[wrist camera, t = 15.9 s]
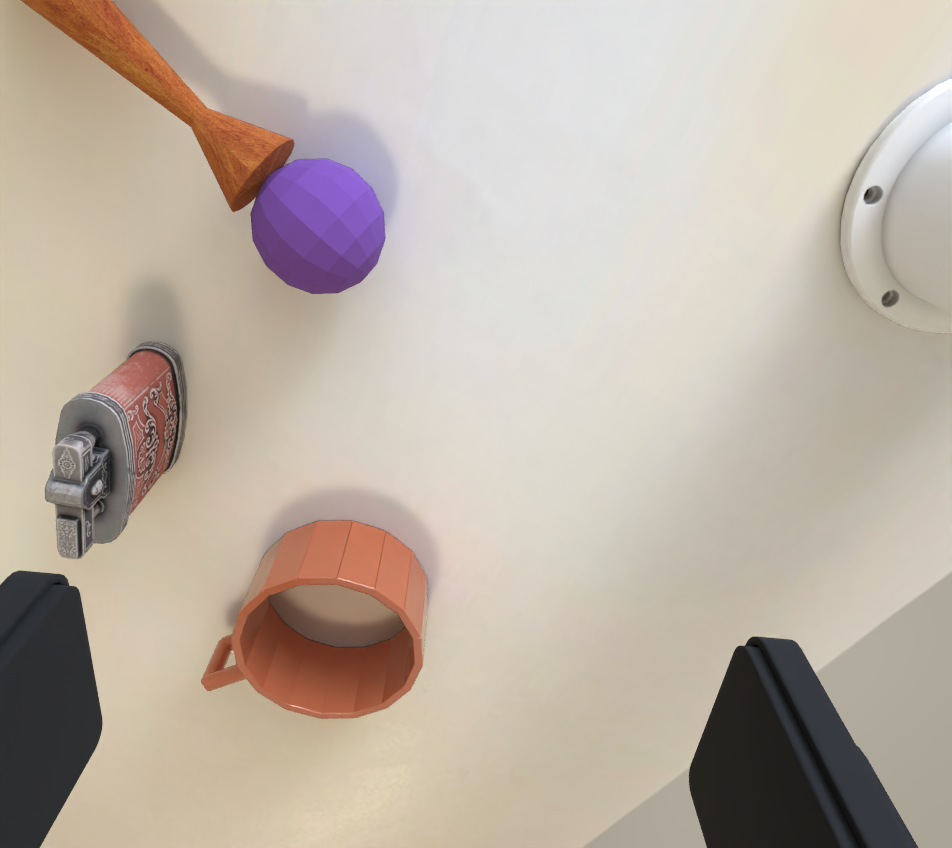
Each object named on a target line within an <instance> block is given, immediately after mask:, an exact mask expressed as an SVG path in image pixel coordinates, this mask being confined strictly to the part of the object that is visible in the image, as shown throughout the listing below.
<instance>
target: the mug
mask: <svg viewBox="0 0 952 848" xmlns="http://www.w3.org/2000/svg"><path fill="white" fill-rule="evenodd" d="M334 584H336V585H340V586H343V587H346V588H350V589H353V590H356V591H359V592H363V593H366V594H369V595H371V596H373V597H374V598H376V599H377V600H378V601H380V602H381V603H383V604H384V605H386V606H387V607H388V608H390V609H391V610H393V611H394V612H395V613H397V614H398V616H399V617H400V619H401V620H402V622H403V624H404V625H405V628H404V629H403V630H402V631H400V632H399V633H398V634H397V635H396V636H394V637H393V638H392V639H389V640H386V641H383V642H380V643H377V644H374V645H371V646H368V647H364V648H335V647H332V646H328V645H325V644H321V643H318V642H314V641H311V640H308V639H306V638H305V637H303V636H302V635H300V634H299V633H297V632H296V631H294V630H293V629H291V628H290V627H288V626H287V625H285V624H284V622H283V621H282V620H281V618H280V617H279V616H278V614H277V613H276V611H275V610H274V609H273V607H272V606H271V605H270V603H269V598H268V596H270V595H273V594H276V593H278V592H281V591H284V590H287V589H289V588H292V587H295V586H298V585H334ZM427 612H428V585H427V577H426V574H425V572H424V570H423V569H422V567H421V565H420V564H419V562H418V560H417V558H416V557H415V555H414V553H413V552H412V551H411V550H410V549H409V548H408V547H406V546H405V545H404V544H402V543H401V542H400V541H398V540H397V539H396V538H394V537H393V536H392V535H390V534H389V533H388V532H386V531H384V530H381V529H378V528H375V527H371V526H368V525H365V524H362V523H359V522H356V521H352V520H341V521H316V522H313V523H310V524H308V525H305V526H302V527H300V528H297V529H294V530H292V531H289V532H287V533H285V534H284V535H283V536H282V537H281V538H280V539H279V540H278V541H277V542H276V543H275V544H274V545H273V546H272V547H271V548H270V549H269V550H268V551H267V552H266V553H265V555H264V557H263V559H262V562H261V564H260V566H259V568H258V571H257V573H256V575H255V578H254V580H253V582H252V584H251V587H250V589H249V591H248V593H247V596H246V598H245V600H244V603H243V605H242V607H241V609H240V612H239V614H238V618H237V621H236V624H235V627H234V630H233V633H232V634H231V635H228V636H225V637H223V638H222V639H221V640H220V641H219V642H218V644H217V646H216V648H215V651H214V653H213V655H212V657H211V659H210V662H209V664H208V666H207V668H206V671H205V673H204V675H203V677H202V679H201V683H202V685H203V686H204V688H205V689H206V690H207V691H212V690H215V689H218V688H221V687H224V686H227V685H230V684H233V683H236V682H239V681H241V680H244V679H247V680H248V681H249V683H250V684H251V685H252V686H253V688H254V689H255V690H256V691H257V692H258V693H260V694H261V695H263V696H265V697H266V698H268V699H270V700H271V701H273V702H274V703H276V704H278V705H279V706H281V707H283V708H284V709H287V710H290V711H294V712H297V713H301V714H305V715H308V716H312V717H316V718H321V719H328V718H357V717H361V716H364V715H367V714H370V713H373V712H377V711H380V710H383V709H386V708H388V707H389V706H390V705H392V704H393V703H394V702H396V701H397V700H398V699H399V698H401V697H402V696H403V695H405V694H406V693H407V692H408V691H410V689H411V688H412V686H413V684H414V682H415V680H416V678H417V676H418V674H419V672H420V670H421V668H422V666H423V658H424V647H425V635H426V624H427ZM232 650H233V651H234V655H235V660H236V665H233V666H231V667H228V668H225V669H224V667H225V665H226V663H227V660H228V658H229V656H230V653H231V651H232Z"/></svg>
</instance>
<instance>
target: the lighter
mask: <svg viewBox="0 0 952 848" xmlns="http://www.w3.org/2000/svg"><path fill="white" fill-rule="evenodd" d="M186 419H187V393H186V383H185V377H184V371H183V365H182V361H181V358H180V356H179V355H178V354H177V352H176V351H175V350H174V349H172V348H171V347H169V346H168V345H166V344H163V343H160V342H152V341H150V342H145V343H142V344H141V345H139V346H138V347H136V348H135V349H134V350H133V351H131V352H130V353H129V355H128V357H127V360H126V361H125V362H124V363H123V364H122V365H120V366H119V367H118V368H117V369H115V370H114V371H113V372H112V373H110V374H109V375H108V376H107V377H106V378H104V379H103V380H102V381H101V382H99V383H98V384H97V385H96V386H95V387H93V388H92V389H91V390H90V391H88V392H86V393H81V394H78V395H77V396H76V397H74V398H73V399H72V400H70V401H69V402H68V403H67V404H65V405H64V407H63V409H62V411H61V414H60V419H59V424H58V430H57V435H56V443H55V447H54V448H53V453H52V454H53V469H52V471H51V474H50V477H49V479H48V481H47V483H46V487H45V499H46V501H47V502H50V503H53V504H55V511H56V531H57V548H58V552H59V555H60V556H61V557H64V558H68V559H81V558H82V557H83V556H84V555H85V553H86V552H87V551H88V550H89V549H90V547H91V546H92V545H93V544H94V543H100V544H103V543H108V542H112V541H113V540H115V539H116V538H117V537H118V536H119V535H120V533H121V532H122V531H123V530H124V528H125V526H126V525H127V521H128V517H129V515H130V514H131V513H132V512H133V510H134V509H135V508H136V507H137V505H138V504H139V503H140V502H141V500H142V499H143V498H144V496H145V495H146V494H147V493H148V491H149V490H150V489H151V488H152V486H153V485H154V484H155V482H156V481H157V480H158V479H159V477H160V476H161V475H162V474H165V473H166V472H168V471H169V470H170V469H171V468H172V467H173V465H174V464H175V463H176V461H177V459H178V457H179V453H180V450H181V446H182V443H183V439H184V434H185V426H186Z"/></svg>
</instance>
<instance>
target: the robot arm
mask: <svg viewBox="0 0 952 848" xmlns="http://www.w3.org/2000/svg"><path fill="white" fill-rule="evenodd" d="M867 189H868V194H867V196H866V197H864V194H865V192H866V191H867ZM840 246H841V252H842V257H843V262H844V267H845V270H846V272H847V274H848V276H849V279H850V281H851V283H852V285H853V287H854V289H855V290H856V291H857V292H858V294H859V295H860V296H861V298H862V299H863V300H864V301H865V303H867V304H868V305H869V306H870V307H872V308H873V309H874V310H876V311H877V312H878V313H879V314H881V315H882V316H884V317H886V318H888V319H890V320H892V321H893V322H895V323H897V324H899V325H902V326H905V327H908V328H911V329H914V330H917V331H924V332H932V333H952V78H951V79H949V80H947V81H945V82H942V83H940V84H938V85H936V86H935V87H934V88H932V89H931V90H929V91H928V92H926V93H925V94H923V95H922V96H920V97H919V98H917V99H916V100H915V101H913V102H912V103H911V104H910V105H908V106H907V107H906V108H905V109H904V110H903V111H902V112H901V113H900V114H899V115H898V116H897V117H895V118H894V119H893V120H892V121H891V122H890V123H889V124H888V126H887V127H886V128H885V129H884V130H883V132H882V133H881V134H880V135H879V137H878V138H877V139H876V140H875V142H874V143H873V144H872V145H871V147H870V148H869V150H868V152H867V154H866V155H865V157H864V159H863V160H862V162H861V164H860V165H859V167H858V169H857V171H856V173H855V175H854V178H853V180H852V183H851V185H850V188H849V191H848V193H847V196H846V199H845V204H844V209H843V214H842V219H841V240H840ZM884 294H885V295H884ZM883 295H884V296H883ZM101 731H102V715H101V709H100V703H99V698H98V692H97V687H96V681H95V675H94V670H93V664H92V658H91V653H90V647H89V642H88V636H87V630H86V625H85V619H84V614H83V608H82V602H81V597H80V593H79V590H78V589H77V587H74V586H69V583H68V580H67V578H66V577H65V576H64V575H61V574H52V573H41V572H30V571H17V572H14V573H12V574H11V575H10V576H9V577H7V578H6V579H5V581H4V582H3V583H2V584H1V585H0V848H40V846H41V844H42V843H43V841H44V839H45V837H46V835H47V834H48V832H49V830H50V828H51V827H52V825H53V823H54V821H55V819H56V818H57V816H58V814H59V812H60V811H61V809H62V807H63V805H64V803H65V802H66V800H67V798H68V796H69V795H70V793H71V791H72V789H73V788H74V786H75V784H76V782H77V780H78V779H79V777H80V775H81V773H82V772H83V770H84V768H85V766H86V764H87V763H88V761H89V759H90V757H91V756H92V754H93V752H94V750H95V748H96V746H97V744H98V741H99V739H100V735H101ZM689 785H690V792H691V796H692V799H693V802H694V806H695V809H696V813H697V816H698V819H699V822H700V826H701V829H702V832H703V836H704V839H705V842H706V846H707V848H918V846H917V845H916V843H915V841H914V839H913V838H912V836H911V834H910V832H909V831H908V829H907V827H906V826H905V824H904V822H903V820H902V819H901V817H900V815H899V813H898V812H897V810H896V808H895V807H894V805H893V803H892V801H891V799H890V798H889V796H888V794H887V792H886V791H885V789H884V787H883V785H882V784H881V782H880V780H879V779H878V777H877V775H876V773H875V772H874V770H873V768H872V766H871V765H870V763H869V761H868V759H867V758H866V756H865V755H864V754H863V752H862V751H861V750H860V748H859V747H858V746H856V744H855V743H854V741H853V739H852V737H851V736H850V734H849V732H848V730H847V729H846V727H845V725H844V723H843V722H842V720H841V718H840V716H839V714H838V713H837V711H836V709H835V707H834V706H833V704H832V702H831V700H830V699H829V697H828V695H827V693H826V692H825V690H824V688H823V686H822V685H821V683H820V681H819V679H818V678H817V676H816V674H815V672H814V671H813V669H812V667H811V665H810V664H809V662H808V660H807V658H806V656H805V655H804V653H803V651H802V649H801V648H800V647H799V645H798V644H797V643H796V642H795V641H793V640H788V639H777V638H766V637H751V638H750V639H749V640H748V642H747V643H746V645H745V646H738V647H737V648H736V649H735V651H734V653H733V656H732V659H731V661H730V664H729V666H728V669H727V672H726V674H725V677H724V680H723V682H722V685H721V687H720V690H719V693H718V695H717V698H716V700H715V703H714V706H713V708H712V711H711V714H710V716H709V719H708V721H707V724H706V727H705V729H704V732H703V734H702V737H701V740H700V742H699V745H698V747H697V750H696V753H695V755H694V758H693V761H692V763H691V766H690V771H689Z"/></svg>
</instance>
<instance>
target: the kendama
mask: <svg viewBox="0 0 952 848" xmlns="http://www.w3.org/2000/svg"><path fill="white" fill-rule="evenodd" d="M21 1H22V2H24V3H25V4H26V5H28V6H29V7H31V8H32V9H33V10H35V11H36V12H37V13H39V14H40V15H41V16H43V17H44V18H45V19H47V20H48V21H49V22H51V23H52V24H53V25H55V26H56V27H57V28H59V29H60V30H61V31H63V32H64V33H65V34H67V35H68V36H69V37H71V38H72V39H73V40H75V41H76V42H77V43H79V44H80V45H82V46H83V47H84V48H86V49H87V50H88V51H90V52H91V53H92V54H94V55H95V56H96V57H98V58H99V59H100V60H102V61H103V62H104V63H106V64H107V65H108V66H110V67H111V68H112V69H114V70H115V71H116V72H118V73H119V74H120V75H122V76H123V77H124V78H126V79H127V80H129V81H130V82H131V83H133V84H134V85H135V86H137V87H138V88H139V89H141V90H142V91H143V92H145V93H146V94H147V95H149V96H150V97H151V98H153V99H154V100H155V101H157V102H158V103H159V104H161V105H162V106H163V107H165V108H166V109H167V110H169V111H170V112H171V113H173V114H174V115H175V116H177V117H178V118H180V119H181V120H182V121H184V122H185V123H186V124H188V125H189V126H190V127H191V128H192V130H193V132H194V134H195V136H196V138H197V140H198V142H199V144H200V146H201V148H202V150H203V153H204V155H205V157H206V159H207V161H208V163H209V165H210V167H211V169H212V171H213V173H214V175H215V177H216V179H217V181H218V184H219V186H220V188H221V190H222V192H223V194H224V196H225V198H226V200H227V202H228V204H229V206H230V208H231V210H232V211H233V212H235V211H238V210H240V209H242V208H243V207H245V206H246V205H247V204H249V203H250V202H251V201H252V200H253V199H254V198H256V200H255V203H254V206H253V208H252V211H251V225H252V236H253V242H254V244H255V246H256V247H257V249H258V251H259V253H260V255H261V257H262V259H263V261H264V263H265V265H266V266H267V267H268V268H269V269H270V270H271V271H273V272H274V273H275V274H276V275H277V276H278V277H279V278H281V279H282V280H283V281H284V282H285V283H286V284H287V285H289V286H292V287H295V288H298V289H300V290H303V291H306V292H309V293H311V294H324V293H339V292H341V291H343V290H345V289H347V288H350V287H352V286H354V285H356V284H358V283H360V282H361V281H362V280H363V279H364V278H365V277H366V276H367V275H368V274H369V272H370V271H371V270H372V269H373V268H374V267H375V266H376V264H377V262H378V259H379V256H380V253H381V250H382V247H383V244H384V241H385V228H384V213H383V210H382V208H381V206H380V204H379V202H378V200H377V198H376V195H375V193H374V191H373V189H372V187H371V186H369V185H368V184H367V183H366V182H365V181H364V180H363V179H362V178H361V177H360V176H359V175H358V174H357V173H356V172H355V171H354V170H353V169H351V168H349V167H346V166H344V165H341V164H339V163H336V162H334V161H331V160H329V159H299V160H295V161H293V162H291V163H289V164H287V165H285V166H284V164H285V162H286V161H287V159H288V157H289V156H290V154H291V152H292V149H293V147H294V140H293V139H290V138H287V137H284V136H282V135H279V134H276V133H274V132H271V131H268V130H265V129H263V128H260V127H257V126H254V125H252V124H249V123H246V122H243V121H241V120H238V119H235V118H233V117H230V116H227V115H224V114H222V113H219V112H216V111H213V110H211V109H208V108H207V107H206V106H205V105H204V104H203V103H202V102H201V101H200V99H199V98H198V97H197V96H196V95H195V94H194V93H193V92H192V91H191V89H190V88H189V87H188V86H187V85H186V84H185V83H184V82H183V80H182V79H181V78H180V77H179V76H178V75H177V74H176V73H175V71H174V70H173V69H172V68H171V67H170V66H169V65H168V64H167V62H166V61H165V60H164V59H163V58H162V57H161V56H160V55H159V53H158V52H157V51H156V50H155V49H154V48H153V47H152V46H151V44H150V43H149V42H148V41H147V40H146V39H145V38H144V37H143V35H142V34H141V33H140V32H139V31H138V30H137V29H136V28H135V26H134V25H133V24H132V23H131V22H130V21H129V20H128V19H127V17H126V16H125V15H124V14H123V13H122V12H121V11H120V10H119V8H118V7H117V6H116V5H115V4H114V3H113V2H112V1H111V0H21Z"/></svg>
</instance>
